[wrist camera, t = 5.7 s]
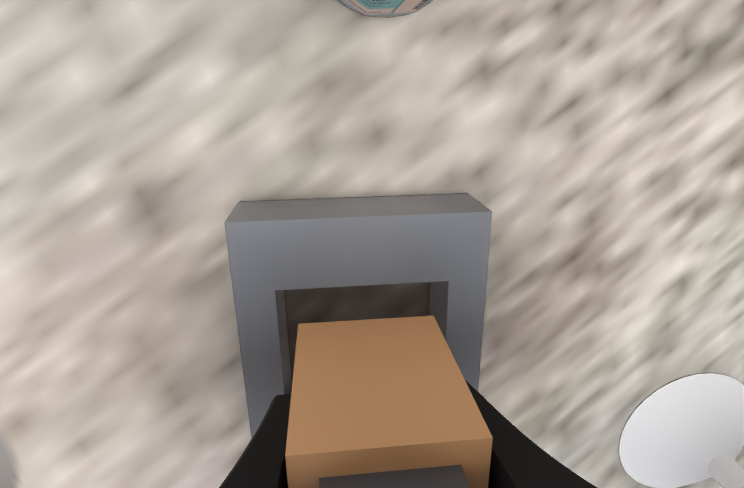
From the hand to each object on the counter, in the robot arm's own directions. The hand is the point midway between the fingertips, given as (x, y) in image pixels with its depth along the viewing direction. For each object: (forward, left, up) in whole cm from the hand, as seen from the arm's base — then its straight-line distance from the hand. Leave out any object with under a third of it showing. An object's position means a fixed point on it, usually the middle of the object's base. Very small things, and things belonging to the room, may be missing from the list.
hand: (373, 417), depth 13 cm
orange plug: (0, 0, -2) cm, 2 cm away
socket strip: (-5, 0, -5) cm, 7 cm away
